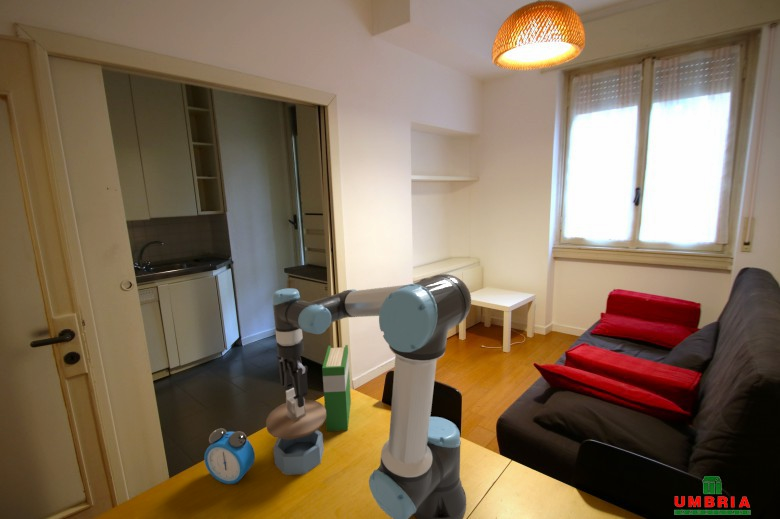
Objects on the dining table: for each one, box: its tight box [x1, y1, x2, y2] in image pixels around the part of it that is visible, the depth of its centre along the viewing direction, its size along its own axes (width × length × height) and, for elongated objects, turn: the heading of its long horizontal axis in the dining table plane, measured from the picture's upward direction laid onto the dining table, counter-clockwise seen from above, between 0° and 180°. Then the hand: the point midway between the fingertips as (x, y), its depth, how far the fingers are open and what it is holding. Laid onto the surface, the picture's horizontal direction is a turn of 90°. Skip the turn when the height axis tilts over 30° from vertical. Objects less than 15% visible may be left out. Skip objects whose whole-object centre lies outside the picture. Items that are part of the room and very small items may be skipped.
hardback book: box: [321, 344, 352, 432], centre depth 134 cm, size 18×7×24 cm, turn 2°
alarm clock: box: [203, 427, 256, 486], centre depth 106 cm, size 13×6×15 cm, turn 75°
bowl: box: [272, 429, 324, 476], centre depth 114 cm, size 14×14×6 cm
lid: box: [265, 395, 326, 439], centre depth 112 cm, size 18×18×7 cm
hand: (296, 411), depth 112 cm, fingers closed on lid, 4 cm apart
